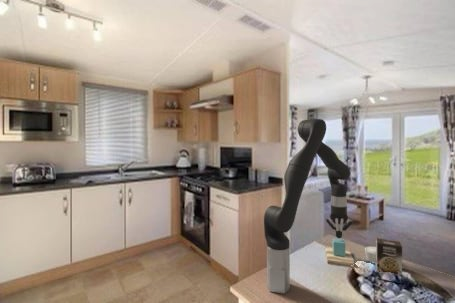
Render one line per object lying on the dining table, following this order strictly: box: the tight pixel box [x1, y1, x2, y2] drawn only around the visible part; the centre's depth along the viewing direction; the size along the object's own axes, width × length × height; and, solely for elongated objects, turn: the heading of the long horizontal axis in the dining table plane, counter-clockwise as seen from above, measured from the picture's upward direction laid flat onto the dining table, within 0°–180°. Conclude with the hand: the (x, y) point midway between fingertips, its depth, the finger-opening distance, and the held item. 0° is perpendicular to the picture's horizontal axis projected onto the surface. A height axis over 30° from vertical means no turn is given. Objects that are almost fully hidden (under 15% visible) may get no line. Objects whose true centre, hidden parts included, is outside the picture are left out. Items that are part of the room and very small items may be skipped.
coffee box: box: [375, 237, 403, 276], centre depth 104 cm, size 9×6×16 cm
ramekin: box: [364, 246, 376, 263], centre depth 119 cm, size 11×11×5 cm
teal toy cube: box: [332, 237, 346, 256], centre depth 123 cm, size 5×5×7 cm
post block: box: [324, 246, 355, 268], centre depth 123 cm, size 16×12×8 cm
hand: (338, 237), depth 122 cm, fingers closed
